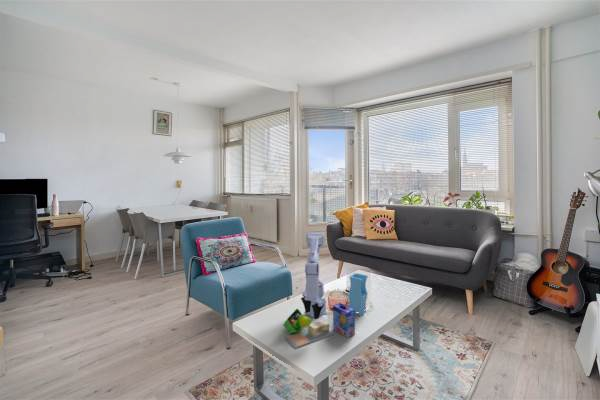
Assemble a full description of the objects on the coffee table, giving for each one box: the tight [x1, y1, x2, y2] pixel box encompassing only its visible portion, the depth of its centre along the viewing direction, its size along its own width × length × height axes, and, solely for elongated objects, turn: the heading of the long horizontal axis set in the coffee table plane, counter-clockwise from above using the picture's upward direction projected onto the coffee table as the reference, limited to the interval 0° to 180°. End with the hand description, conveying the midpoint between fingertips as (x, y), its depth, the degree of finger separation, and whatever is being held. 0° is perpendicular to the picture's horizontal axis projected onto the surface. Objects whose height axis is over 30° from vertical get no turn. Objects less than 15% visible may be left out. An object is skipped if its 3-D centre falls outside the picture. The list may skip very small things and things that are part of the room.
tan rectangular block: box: [307, 319, 330, 337], centre depth 140 cm, size 9×4×4 cm, turn 122°
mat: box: [284, 329, 334, 350], centre depth 137 cm, size 21×10×1 cm, turn 122°
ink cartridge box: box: [332, 302, 356, 338], centre depth 141 cm, size 10×6×14 cm, turn 38°
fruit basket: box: [282, 308, 312, 335], centre depth 141 cm, size 11×9×11 cm
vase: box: [347, 272, 368, 316], centre depth 162 cm, size 8×8×20 cm
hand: (312, 315), depth 140 cm, fingers open, 7 cm apart
